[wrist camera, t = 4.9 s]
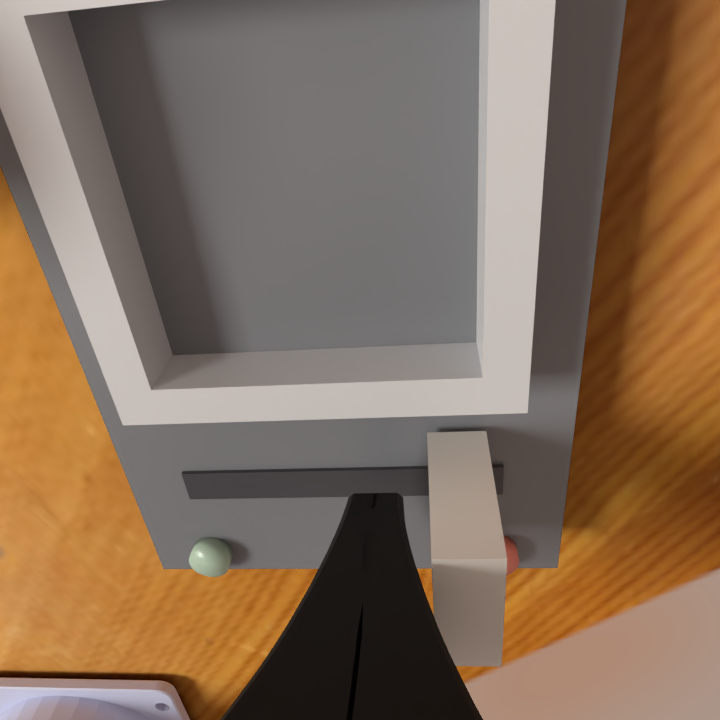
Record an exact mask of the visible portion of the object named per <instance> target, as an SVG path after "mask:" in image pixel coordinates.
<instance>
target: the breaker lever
mask: <svg viewBox="0 0 720 720" xmlns="http://www.w3.org/2000/svg"><path fill="white" fill-rule="evenodd" d="M427 446H428V475H429V504H430V533H431V561H432V583H433V605H434V618H435V621H436V623H437V626H438V628H439V630H440V633H441V635H442V637H443V640H444V642H445V644H446V646H447V649H448V651H449V653H450V655H451V657H452V660H453V662H454V664H455V666H498V667H501V665H502V646H503V628H504V609H505V591H506V572H507V554H506V548H505V542H504V536H503V530H502V524H501V518H500V512H499V506H498V500H497V494H496V488H495V481H494V475H493V469H492V463H491V457H490V451H489V445H488V439H487V433H486V431H465V432H428V433H427Z"/></svg>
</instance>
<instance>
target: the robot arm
mask: <svg viewBox="0 0 720 720" xmlns="http://www.w3.org/2000/svg"><path fill="white" fill-rule="evenodd" d="M0 720H190V719H189V716H188V714H187V712H186V710H185V708H184V706H183V704H182V701H181V699H180V697H179V695H178V693H177V691H176V689H175V687H174V686H173V685H172V684H170V683H168V682H165V681H160V680H111V679H59V678H6V677H0ZM220 720H483V719H482V717H481V715H480V714H479V711H478V710H477V708H476V706H475V704H474V702H473V700H472V698H471V696H470V695H469V692H468V690H467V688H466V686H465V684H464V682H463V680H462V678H461V676H460V674H459V672H458V670H457V668H456V666H455V664H454V662H453V660H452V657H451V655H450V653H449V651H448V649H447V646H446V644H445V642H444V640H443V637H442V635H441V633H440V630H439V628H438V626H437V623H436V621H435V618H434V616H433V613H432V611H431V608H430V605H429V603H428V600H427V597H426V595H425V592H424V589H423V586H422V583H421V580H420V577H419V574H418V571H417V568H416V565H415V562H414V558H413V555H412V551H411V547H410V543H409V539H408V535H407V530H406V525H405V515H404V502H403V497H402V496H401V495H400V494H398V493H353V494H352V495H351V496H350V497H349V498H348V501H347V504H346V507H345V510H344V513H343V516H342V518H341V521H340V523H339V526H338V528H337V531H336V533H335V535H334V538H333V540H332V542H331V544H330V547H329V549H328V551H327V553H326V555H325V557H324V559H323V561H322V563H321V565H320V567H319V569H318V571H317V573H316V575H315V577H314V579H313V581H312V583H311V585H310V587H309V588H308V590H307V592H306V594H305V595H304V597H303V599H302V601H301V602H300V604H299V606H298V608H297V609H296V611H295V613H294V615H293V616H292V618H291V620H290V622H289V623H288V625H287V626H286V628H285V630H284V631H283V633H282V634H281V636H280V638H279V639H278V641H277V642H276V644H275V645H274V647H273V648H272V650H271V651H270V653H269V654H268V656H267V657H266V659H265V660H264V662H263V663H262V665H261V666H260V667H259V669H258V670H257V672H256V673H255V674H254V676H253V677H252V678H251V680H250V681H249V683H248V684H247V685H246V687H245V688H244V689H243V691H242V692H241V693H240V695H239V696H238V697H237V699H236V700H235V701H234V703H233V704H232V705H231V707H230V708H229V709H228V710H227V712H226V713H225V714H224V716H223V717H222V718H221V719H220Z"/></svg>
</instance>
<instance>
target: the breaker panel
mask: <svg viewBox="0 0 720 720" xmlns="http://www.w3.org/2000/svg"><path fill="white" fill-rule="evenodd" d="M626 2H627V0H0V166H1V169H2V171H3V174H4V176H5V178H6V181H7V183H8V186H9V188H10V191H11V193H12V196H13V198H14V201H15V203H16V206H17V208H18V210H19V213H20V215H21V218H22V220H23V223H24V225H25V228H26V230H27V233H28V235H29V238H30V240H31V243H32V245H33V247H34V250H35V252H36V255H37V257H38V260H39V262H40V265H41V267H42V270H43V272H44V275H45V277H46V280H47V282H48V284H49V287H50V289H51V292H52V294H53V297H54V299H55V302H56V304H57V307H58V309H59V312H60V314H61V317H62V319H63V321H64V324H65V326H66V329H67V331H68V334H69V336H70V339H71V341H72V344H73V346H74V349H75V351H76V354H77V356H78V358H79V361H80V363H81V366H82V368H83V371H84V373H85V376H86V378H87V381H88V383H89V386H90V388H91V390H92V393H93V395H94V398H95V400H96V403H97V405H98V408H99V410H100V413H101V415H102V418H103V420H104V423H105V425H106V427H107V430H108V432H109V435H110V437H111V440H112V442H113V445H114V447H115V450H116V452H117V455H118V457H119V460H120V462H121V464H122V467H123V469H124V472H125V474H126V477H127V479H128V482H129V484H130V487H131V489H132V492H133V494H134V497H135V499H136V501H137V504H138V506H139V509H140V511H141V514H142V516H143V519H144V521H145V524H146V526H147V529H148V531H149V534H150V536H151V538H152V541H153V543H154V546H155V548H156V551H157V553H158V556H159V558H160V561H161V563H162V566H163V568H164V569H194V570H195V571H196V572H198V573H200V574H202V575H205V576H210V577H217V576H221V575H223V574H225V573H226V572H227V571H228V569H319V567H320V565H321V563H322V561H323V559H324V557H325V555H326V553H327V551H328V549H329V547H330V544H331V542H332V540H333V538H334V535H335V533H336V531H337V528H338V526H339V523H340V521H341V518H342V516H343V513H344V510H345V507H346V504H347V501H348V498H349V497H350V496H351V495H352V494H353V493H398V494H400V495H401V496H402V497H403V502H404V515H405V525H406V530H407V535H408V539H409V543H410V547H411V551H412V555H413V558H414V562H415V565H416V568H432V561H431V533H430V504H429V475H428V446H427V433H428V432H465V431H486V433H487V439H488V445H489V451H490V457H491V463H492V469H493V475H494V481H495V488H496V494H497V500H498V506H499V512H500V518H501V524H502V530H503V536H504V542H505V548H506V554H507V572H506V575H508V574H510V573H512V572H514V571H515V570H516V569H517V568H558V560H559V551H560V543H561V535H562V527H563V519H564V510H565V502H566V494H567V486H568V478H569V469H570V461H571V453H572V445H573V437H574V428H575V420H576V412H577V404H578V396H579V387H580V379H581V371H582V363H583V355H584V346H585V338H586V330H587V322H588V314H589V305H590V297H591V289H592V281H593V273H594V264H595V256H596V248H597V240H598V232H599V223H600V215H601V207H602V199H603V191H604V182H605V174H606V166H607V158H608V150H609V141H610V133H611V125H612V117H613V109H614V100H615V92H616V84H617V76H618V68H619V59H620V51H621V43H622V35H623V26H624V18H625V10H626Z"/></svg>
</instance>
